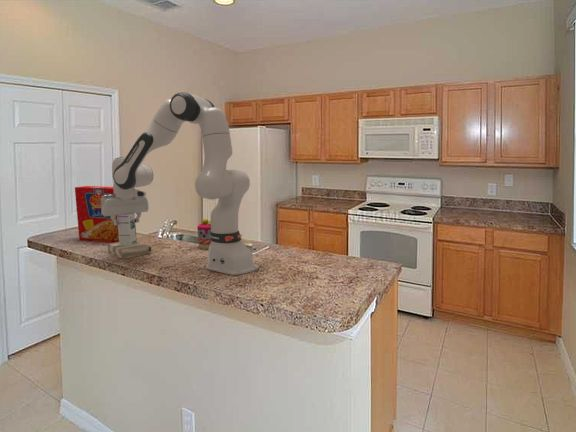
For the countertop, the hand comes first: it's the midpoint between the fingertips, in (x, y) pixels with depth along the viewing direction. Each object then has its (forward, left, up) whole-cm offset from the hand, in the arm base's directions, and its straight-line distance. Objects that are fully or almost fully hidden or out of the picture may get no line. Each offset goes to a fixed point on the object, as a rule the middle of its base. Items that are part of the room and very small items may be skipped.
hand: (126, 223), depth 175 cm
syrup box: (0, 0, -10) cm, 10 cm away
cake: (-16, -33, -14) cm, 39 cm away
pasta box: (+33, -3, -14) cm, 36 cm away
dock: (0, 0, -14) cm, 14 cm away
